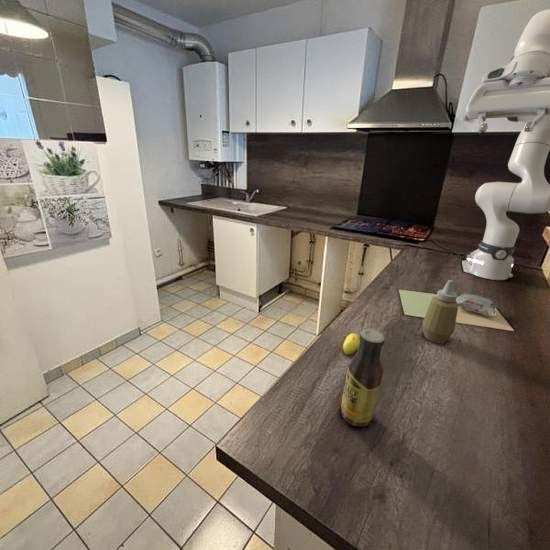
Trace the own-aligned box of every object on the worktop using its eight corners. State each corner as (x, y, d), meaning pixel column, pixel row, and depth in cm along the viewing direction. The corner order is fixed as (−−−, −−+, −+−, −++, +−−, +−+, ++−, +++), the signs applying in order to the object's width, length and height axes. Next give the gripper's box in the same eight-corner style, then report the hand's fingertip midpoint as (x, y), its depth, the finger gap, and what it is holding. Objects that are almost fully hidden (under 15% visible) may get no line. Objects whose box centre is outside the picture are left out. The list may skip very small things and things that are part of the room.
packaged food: (493, 322, 92) (498, 308, 90) (451, 309, 99) (455, 296, 97) (496, 312, 98) (500, 299, 96) (456, 300, 105) (460, 288, 103)
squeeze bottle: (447, 332, 86) (464, 277, 79) (453, 348, 79) (472, 289, 72) (418, 327, 89) (431, 273, 82) (421, 342, 82) (436, 284, 75)
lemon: (338, 353, 76) (339, 341, 75) (349, 339, 82) (350, 327, 81) (353, 360, 74) (355, 347, 73) (363, 344, 80) (365, 332, 79)
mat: (398, 289, 113) (398, 289, 113) (489, 301, 105) (489, 301, 105) (404, 314, 95) (404, 314, 95) (514, 331, 88) (514, 331, 88)
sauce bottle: (336, 404, 61) (347, 323, 53) (365, 402, 61) (380, 322, 54) (346, 431, 55) (360, 345, 47) (377, 429, 55) (397, 344, 48)
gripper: (581, 81, 67) (558, 137, 67) (478, 91, 80) (460, 139, 81) (587, 59, 62) (562, 121, 63) (476, 74, 75) (457, 125, 76)
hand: (504, 131), depth 72 cm, fingers open, 8 cm apart
